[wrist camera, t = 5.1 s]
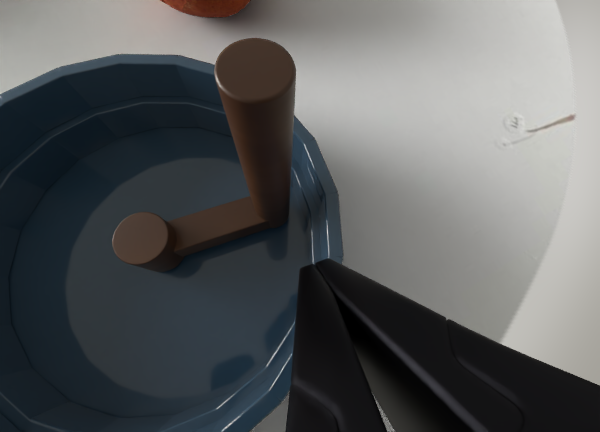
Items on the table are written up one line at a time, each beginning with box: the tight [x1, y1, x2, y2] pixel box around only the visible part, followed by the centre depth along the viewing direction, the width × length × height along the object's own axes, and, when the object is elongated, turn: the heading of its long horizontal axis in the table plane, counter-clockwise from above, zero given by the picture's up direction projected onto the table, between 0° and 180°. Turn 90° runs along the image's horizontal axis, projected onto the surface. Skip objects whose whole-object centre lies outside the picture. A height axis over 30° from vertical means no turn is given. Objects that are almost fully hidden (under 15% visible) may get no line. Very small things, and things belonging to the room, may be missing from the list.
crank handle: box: [112, 38, 296, 272], centre depth 11 cm, size 2×8×10 cm, turn 110°
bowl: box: [0, 54, 343, 432], centre depth 13 cm, size 17×17×5 cm
